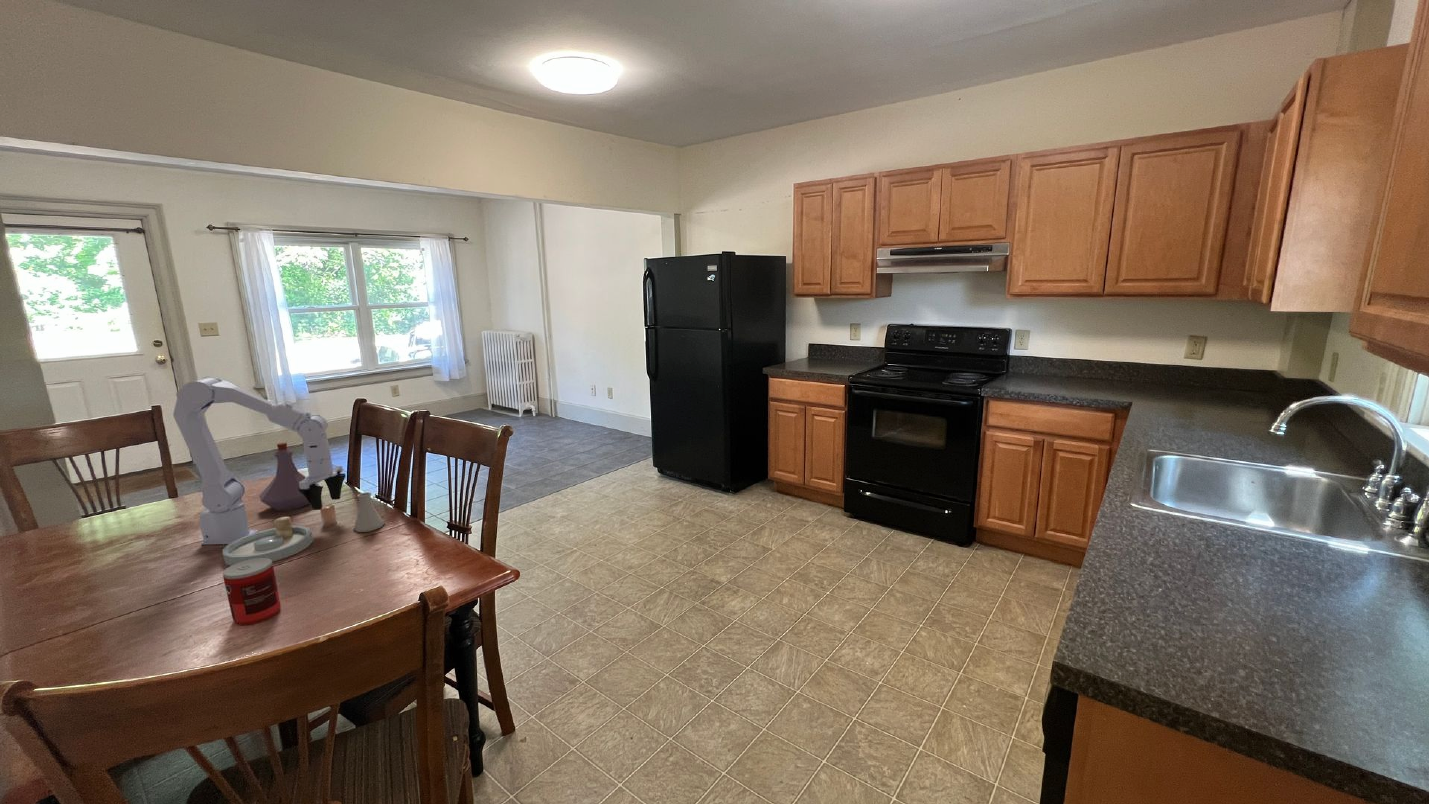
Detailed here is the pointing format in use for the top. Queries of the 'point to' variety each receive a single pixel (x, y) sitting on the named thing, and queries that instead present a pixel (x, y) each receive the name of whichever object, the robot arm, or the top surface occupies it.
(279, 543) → the groove tray
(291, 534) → the tan rounded cylinder
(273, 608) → the canned food
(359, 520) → the flask
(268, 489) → the flask
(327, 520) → the peach rounded cylinder
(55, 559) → the top surface
